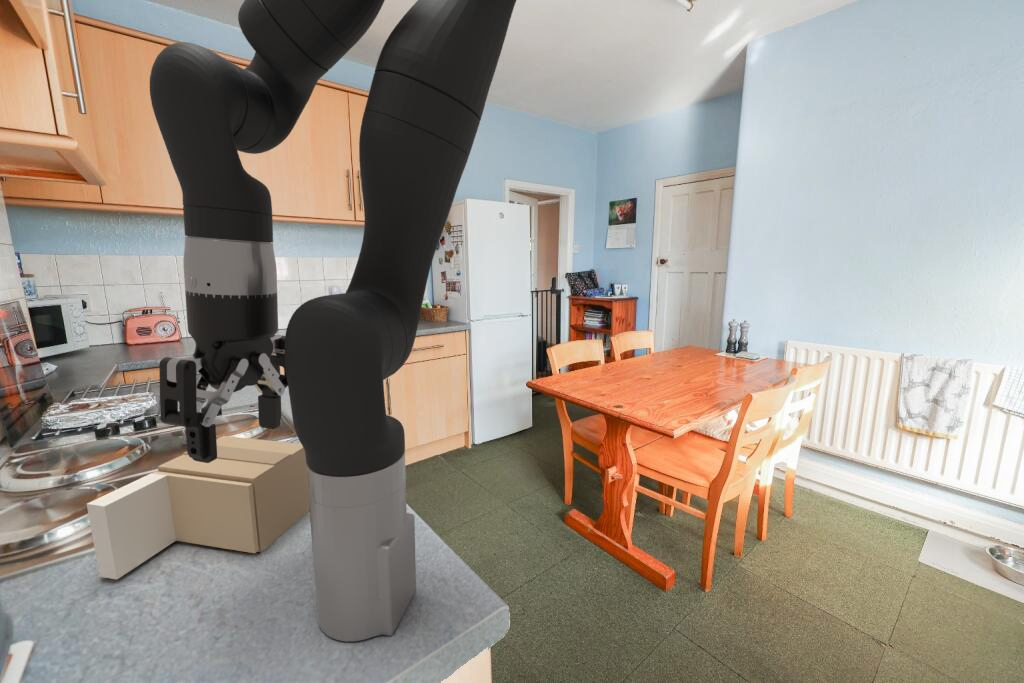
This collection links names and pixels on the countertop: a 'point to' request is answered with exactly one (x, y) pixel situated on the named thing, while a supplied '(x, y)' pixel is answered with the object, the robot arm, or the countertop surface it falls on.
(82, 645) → the countertop surface
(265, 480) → the kraft carton
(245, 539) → the carton flap
